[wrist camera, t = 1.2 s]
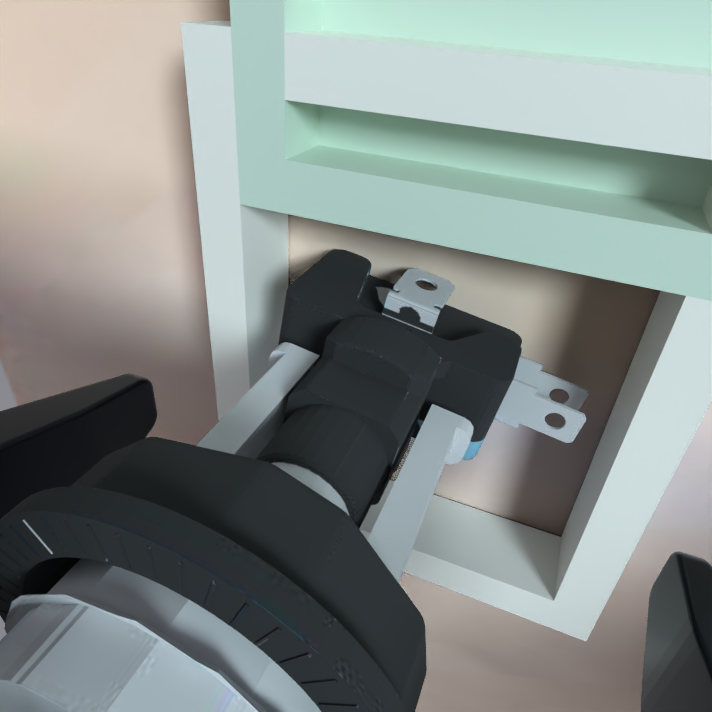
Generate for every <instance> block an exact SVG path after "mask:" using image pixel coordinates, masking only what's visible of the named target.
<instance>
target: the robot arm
mask: <svg viewBox="0 0 712 712" xmlns="http://www.w3.org/2000/svg"><path fill="white" fill-rule="evenodd" d="M156 418H157V410H156V404H155V398H154V392H153V386H152V383H151V382H150V381H149V380H148V379H146V378H143V377H140V376H137V375H134V374H125V375H122V376H119V377H115V378H112V379H108V380H105V381H102V382H98V383H95V384H92V385H88V386H85V387H81V388H78V389H75V390H71V391H68V392H64V393H61V394H58V395H54V396H51V397H47V398H44V399H41V400H37V401H34V402H30V403H27V404H24V405H20V406H17V407H14V408H10V409H7V410H3V411H0V519H1V518H2V517H3V516H5V515H6V514H7V513H8V512H10V511H11V510H12V509H13V508H14V507H16V506H17V505H18V504H19V503H20V502H22V501H23V500H25V499H26V498H28V497H29V496H30V495H32V494H35V493H37V492H40V491H42V490H46V489H51V488H56V487H70V486H71V485H73V484H74V483H75V482H76V481H77V480H78V479H79V478H81V477H82V476H83V475H84V474H85V473H86V472H88V471H89V470H90V469H91V468H92V467H93V466H94V465H96V464H97V463H98V462H99V461H100V460H101V459H103V458H104V457H105V456H107V455H108V454H110V453H113V452H115V451H117V450H119V449H122V448H124V447H126V446H128V445H131V444H133V443H135V442H137V441H139V440H142V439H144V438H145V437H146V436H147V434H148V433H149V432H150V430H151V429H152V427H153V426H154V424H155V421H156ZM641 712H712V566H711V565H710V564H709V563H708V562H707V561H705V560H704V559H701V558H698V557H695V556H692V555H689V554H686V553H683V552H674V553H673V554H672V555H671V556H670V557H669V559H668V560H667V562H666V564H665V566H664V567H663V569H662V571H661V573H660V574H659V576H658V578H657V579H656V581H655V583H654V585H653V587H652V590H651V593H650V598H649V608H648V620H647V632H646V645H645V657H644V669H643V681H642V696H641Z"/></svg>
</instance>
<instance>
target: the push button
mask: <svg viewBox="0 0 712 712" xmlns="http://www.w3.org/2000/svg"><path fill="white" fill-rule="evenodd" d="M370 269H371V263H370V261H369V260H368V259H366V258H364V257H362V256H359V255H357V254H354V253H351V252H349V251H346V250H333V251H331V252H329V253H328V254H327V255H326V256H325V257H323V258H322V259H321V260H320V261H319V262H317V263H316V264H315V265H314V266H313V267H311V268H310V269H309V270H308V271H307V272H306V273H304V274H303V275H302V276H301V277H300V278H298V279H297V280H296V281H295V282H294V283H292V284H291V285H290V286H289V287H288V288H287V292H286V298H285V305H284V311H283V318H282V324H281V330H280V337H279V343H278V347H277V348H276V349H275V350H274V351H273V352H272V353H271V355H270V357H269V363H268V370H267V373H266V374H265V375H264V376H263V377H262V378H261V379H260V380H259V381H258V382H257V383H256V384H255V385H254V386H253V387H252V388H251V389H250V390H249V391H248V392H247V393H246V394H245V395H244V396H243V397H242V398H241V400H240V401H239V402H238V403H237V404H236V405H235V406H234V407H233V408H232V409H231V410H230V411H229V412H228V413H227V414H226V415H225V416H224V417H223V418H222V419H221V420H220V421H219V422H218V423H217V424H216V425H215V426H214V427H213V428H212V429H211V430H210V431H209V432H208V433H207V434H206V435H205V437H204V438H203V439H202V440H201V441H200V442H199V443H198V444H197V445H196V446H194V445H190V444H185V443H181V442H176V441H172V440H167V439H163V438H158V437H149V438H144V439H142V440H139V441H137V442H135V443H133V444H131V445H128V446H126V447H124V448H122V449H119V450H117V451H115V452H113V453H110V454H108V455H107V456H105V457H104V458H103V459H101V460H100V461H99V462H98V463H97V464H96V465H94V466H93V467H92V468H91V469H90V470H89V471H88V472H86V473H85V474H84V475H83V476H82V477H81V478H79V479H78V480H77V481H76V482H75V483H74V484H73V485H71V486H70V487H56V488H51V489H46V490H42V491H40V492H37V493H35V494H32V495H30V496H29V497H28V498H26V499H25V500H23V501H22V502H20V503H19V504H18V505H17V506H16V507H14V508H13V509H12V510H11V511H10V512H8V513H7V514H6V515H5V516H3V517H2V518H1V519H0V616H1V617H2V619H3V620H4V622H5V630H6V633H7V635H6V636H5V637H4V638H3V639H2V640H1V641H0V712H415V709H416V706H417V703H418V699H419V696H420V692H421V689H422V685H423V682H424V679H425V675H426V641H425V624H424V620H423V617H422V615H421V614H420V612H419V611H418V609H417V608H416V606H415V605H414V604H413V602H412V601H411V600H410V598H409V597H408V595H407V594H406V593H405V591H404V590H403V589H402V587H401V586H400V584H399V582H400V579H401V576H402V574H403V571H404V569H405V566H406V563H407V561H408V558H409V556H410V553H411V550H412V548H413V545H414V543H415V540H416V537H417V535H418V532H419V530H420V527H421V525H422V522H423V519H424V517H425V514H426V512H427V509H428V506H429V504H430V501H431V499H432V496H433V493H434V491H435V488H436V486H437V483H438V481H439V478H440V475H441V473H442V470H443V468H444V465H445V463H446V464H451V465H453V464H458V463H459V462H460V461H461V460H470V459H473V458H474V457H475V456H476V454H477V452H478V450H479V448H480V446H481V444H482V442H483V440H484V438H485V436H486V434H487V432H488V430H489V428H490V426H491V424H492V422H493V420H494V419H496V420H498V421H501V422H503V423H505V424H508V425H510V426H512V427H515V428H518V426H519V424H522V425H525V426H527V427H529V428H532V429H534V430H537V431H539V432H541V433H544V434H546V435H548V436H551V437H553V438H556V439H558V440H560V441H563V442H565V443H570V442H573V440H574V439H575V437H576V436H577V434H578V432H579V431H580V429H581V428H582V426H583V424H584V423H585V421H586V417H585V414H584V413H582V412H579V409H580V408H581V406H582V405H583V403H584V401H585V400H586V398H587V396H588V391H587V389H586V388H583V387H581V386H578V385H576V384H573V383H571V382H568V381H566V380H563V379H561V378H558V377H556V376H553V375H551V374H548V373H546V372H543V371H541V369H542V367H543V365H542V364H540V363H537V362H535V361H532V360H530V359H527V358H525V357H522V356H520V355H521V350H522V349H521V347H520V346H521V343H522V340H521V338H520V336H519V335H518V334H516V333H515V332H514V331H511V330H509V329H507V328H504V327H502V326H499V325H497V324H494V323H491V322H489V321H486V320H484V319H481V318H479V317H476V316H474V315H471V314H468V313H466V312H463V311H461V310H458V309H456V308H453V307H450V306H448V305H445V303H446V302H447V300H448V298H449V297H450V295H451V293H452V292H453V290H454V285H453V284H452V283H451V282H450V281H448V280H445V279H443V278H440V277H438V276H435V275H432V274H430V273H427V272H424V271H422V270H419V269H408V270H407V271H406V272H405V273H404V274H403V276H402V277H401V278H400V279H399V281H398V282H397V283H396V284H395V285H394V284H392V283H389V282H386V281H384V280H381V279H379V278H376V277H374V276H371V275H369V273H370ZM419 281H423V282H427V283H430V284H432V285H433V286H435V287H436V290H434V291H429V290H425V289H422V288H420V287H418V286H417V285H416V282H419ZM558 388H559V389H563V390H565V391H566V392H567V393H568V395H569V398H568V400H567V401H565V402H562V403H558V402H555V401H553V400H551V398H550V396H549V393H550V391H552V390H553V389H558ZM550 413H558V414H560V415H562V416H563V417H564V418H565V420H566V422H565V424H564V425H563V426H561V427H551V426H550V425H548V424H547V423H546V421H545V417H546V415H548V414H550ZM411 437H413V438H416V439H415V441H414V443H413V445H412V447H411V450H410V452H409V454H408V456H407V458H406V460H405V462H404V464H403V466H402V468H401V470H400V473H399V475H398V477H397V479H396V481H395V483H394V485H393V487H392V489H391V491H390V494H389V496H388V498H387V500H386V502H385V504H384V506H383V508H382V510H381V512H380V514H379V517H378V519H377V521H376V523H375V525H374V527H373V529H372V531H371V533H370V535H369V538H368V540H367V539H366V538H365V536H364V535H363V534H362V532H361V531H360V530H359V529H360V527H361V525H362V523H363V521H364V519H365V517H366V515H367V513H368V511H369V509H370V507H371V505H376V504H378V503H379V501H380V499H381V497H382V495H383V493H384V491H385V489H386V487H387V485H388V483H389V481H390V479H391V477H392V474H393V472H395V471H396V470H397V468H398V466H399V464H400V462H401V460H402V458H403V456H404V454H405V452H406V450H407V447H408V445H409V442H410V440H411Z"/></svg>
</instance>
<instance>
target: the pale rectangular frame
mask: <svg viewBox="0 0 712 712" xmlns="http://www.w3.org/2000/svg"><path fill="white" fill-rule="evenodd" d="M181 33H182V44H183V54H184V65H185V75H186V86H187V96H188V107H189V117H190V128H191V139H192V149H193V160H194V170H195V181H196V191H197V202H198V212H199V223H200V234H201V244H202V255H203V265H204V276H205V286H206V297H207V307H208V318H209V329H210V339H211V350H212V360H213V371H214V381H215V392H216V402H217V413H218V422H219V421H220V420H221V419H222V418H223V417H224V416H225V415H226V414H227V413H228V412H229V411H230V410H231V409H232V408H233V407H234V406H235V405H236V404H237V403H238V402H239V401H240V400H241V398H242V397H243V396H244V395H245V394H246V393H247V392H248V391H249V390H250V389H251V388H252V387H253V386H254V385H255V384H256V383H257V382H258V381H259V380H260V379H261V378H262V377H263V376H264V375H265V374H266V373H267V370H268V363H269V357H270V355H271V353H272V352H273V351H274V350H275V349H276V348H277V347H278V343H279V337H280V330H281V324H282V318H283V311H284V305H285V298H286V292H287V288H288V287H289V282H288V214H285V213H280V212H275V211H270V210H265V209H260V208H255V207H250V206H246V205H241V204H240V193H239V174H238V155H237V136H236V117H235V98H234V79H233V60H232V41H231V22H230V20H228V21H194V22H181ZM284 67H285V100H289V101H296V102H303V103H311V104H318V105H325V106H332V107H339V108H346V109H353V110H360V111H367V112H375V113H382V114H389V115H396V116H403V117H410V118H417V119H424V120H431V121H439V122H446V123H453V124H460V125H467V126H474V127H481V128H488V129H495V130H503V131H510V132H517V133H524V134H531V135H538V136H545V137H552V138H559V139H567V140H574V141H581V142H588V143H595V144H602V145H609V146H616V147H623V148H630V149H638V150H645V151H652V152H659V153H666V154H673V155H680V156H687V157H694V158H702V159H709V160H712V69H710V68H700V67H690V66H680V65H670V64H660V63H650V62H639V61H629V60H619V59H609V58H599V57H589V56H579V55H569V54H559V53H549V52H539V51H528V50H518V49H508V48H498V47H488V46H478V45H468V44H458V43H448V42H438V41H427V40H417V39H407V38H397V37H387V36H377V35H367V34H357V33H347V32H337V31H326V30H313V31H299V32H285V33H284ZM702 209H703V212H704V214H705V217H706V219H707V222H708V224H709V226H710V229H711V231H712V184H711V186H710V189H709V191H708V194H707V196H706V199H705V201H704V203H703V206H702ZM711 401H712V301H709V300H704V299H699V298H694V297H689V296H684V295H679V294H675V293H670V292H665V291H660V293H659V296H658V298H657V301H656V303H655V306H654V308H653V310H652V313H651V315H650V318H649V320H648V323H647V325H646V328H645V330H644V333H643V335H642V338H641V340H640V343H639V345H638V348H637V350H636V353H635V355H634V358H633V360H632V363H631V365H630V368H629V370H628V373H627V375H626V378H625V380H624V382H623V385H622V387H621V390H620V392H619V395H618V397H617V400H616V402H615V405H614V407H613V410H612V412H611V415H610V417H609V420H608V422H607V425H606V427H605V430H604V432H603V435H602V437H601V440H600V442H599V445H598V447H597V450H596V452H595V454H594V457H593V459H592V462H591V464H590V467H589V469H588V472H587V474H586V477H585V479H584V482H583V484H582V487H581V489H580V492H579V494H578V497H577V499H576V502H575V504H574V507H573V509H572V512H571V514H570V517H569V519H568V521H567V524H566V526H565V529H564V531H563V534H562V536H561V537H559V536H556V535H553V534H550V533H547V532H544V531H541V530H538V529H535V528H532V527H529V526H526V525H523V524H520V523H517V522H514V521H511V520H508V519H505V518H502V517H499V516H496V515H493V514H490V513H487V512H484V511H481V510H478V509H475V508H472V507H469V506H466V505H463V504H460V503H458V502H455V501H452V500H449V499H446V498H443V497H440V496H437V495H434V494H433V496H432V499H431V501H430V504H429V506H428V509H427V512H426V514H425V517H424V519H423V522H422V525H421V527H420V530H419V532H418V535H417V537H416V540H415V543H414V545H413V548H412V550H411V553H410V556H409V558H408V561H407V563H406V566H405V569H404V571H403V572H405V573H408V574H410V575H413V576H416V577H418V578H421V579H424V580H426V581H429V582H431V583H434V584H437V585H439V586H442V587H444V588H447V589H450V590H452V591H455V592H458V593H460V594H463V595H465V596H468V597H471V598H473V599H476V600H478V601H481V602H484V603H486V604H489V605H492V606H494V607H497V608H499V609H502V610H505V611H507V612H510V613H512V614H515V615H518V616H520V617H523V618H526V619H528V620H531V621H533V622H536V623H539V624H541V625H544V626H546V627H549V628H552V629H554V630H557V631H560V632H562V633H565V634H567V635H570V636H573V637H575V638H578V639H580V640H583V641H587V639H588V637H589V635H590V633H591V631H592V629H593V627H594V626H595V624H596V622H597V620H598V618H599V616H600V614H601V612H602V610H603V608H604V606H605V604H606V603H607V601H608V599H609V597H610V595H611V593H612V591H613V589H614V587H615V585H616V583H617V581H618V580H619V578H620V576H621V574H622V572H623V570H624V568H625V566H626V564H627V562H628V560H629V558H630V557H631V555H632V553H633V551H634V549H635V547H636V545H637V543H638V541H639V539H640V537H641V535H642V534H643V532H644V530H645V528H646V526H647V524H648V522H649V520H650V518H651V516H652V514H653V512H654V511H655V509H656V507H657V505H658V503H659V501H660V499H661V497H662V495H663V493H664V491H665V490H666V488H667V486H668V484H669V482H670V480H671V478H672V476H673V474H674V472H675V470H676V468H677V467H678V465H679V463H680V461H681V459H682V457H683V455H684V453H685V451H686V449H687V447H688V445H689V444H690V442H691V440H692V438H693V436H694V434H695V432H696V430H697V428H698V426H699V424H700V422H701V421H702V419H703V417H704V415H705V413H706V411H707V409H708V407H709V405H710V403H711ZM394 483H395V481H392V480H390V481H389V483H388V485H387V487H386V489H385V491H384V493H383V495H382V497H381V499H380V501H379V503H378V504H376V505H371V507H370V509H369V511H368V513H367V515H366V517H365V519H364V521H363V523H362V525H361V527H360V529H359V530H360V531H361V532H362V534H363V535H364V536H365V538H366V539H367V540H368V538H369V535H370V533H371V531H372V529H373V527H374V525H375V523H376V521H377V519H378V517H379V514H380V512H381V510H382V508H383V506H384V504H385V502H386V500H387V498H388V496H389V494H390V491H391V489H392V487H393V485H394Z"/></svg>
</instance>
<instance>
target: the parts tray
mask: <svg viewBox="0 0 712 712" xmlns="http://www.w3.org/2000/svg"><path fill="white" fill-rule="evenodd" d="M229 3H230V22H231V41H232V60H233V79H234V98H235V117H236V136H237V155H238V174H239V193H240V204H241V205H246V206H250V207H255V208H260V209H265V210H270V211H275V212H280V213H285V214H289V215H294V216H299V217H304V218H309V219H314V220H319V221H324V222H328V223H333V224H338V225H343V226H348V227H353V228H358V229H363V230H367V231H372V232H377V233H382V234H387V235H392V236H397V237H402V238H406V239H411V240H416V241H421V242H426V243H431V244H436V245H441V246H445V247H450V248H455V249H460V250H465V251H470V252H475V253H480V254H484V255H489V256H494V257H499V258H504V259H509V260H514V261H519V262H523V263H528V264H533V265H538V266H543V267H548V268H553V269H558V270H562V271H567V272H572V273H577V274H582V275H587V276H592V277H597V278H601V279H606V280H611V281H616V282H621V283H626V284H631V285H636V286H640V287H645V288H650V289H655V290H660V291H665V292H670V293H675V294H679V295H684V296H689V297H694V298H699V299H704V300H709V301H712V231H711V229H710V226H709V224H708V222H707V219H706V217H705V214H704V212H703V209H702V206H703V203H704V201H705V199H706V196H707V194H708V191H709V189H710V186H711V184H712V160H709V159H702V158H694V157H687V156H680V155H673V154H666V153H659V152H652V151H645V150H638V149H630V148H623V147H616V146H609V145H602V144H595V143H588V142H581V141H574V140H567V139H559V138H552V137H545V136H538V135H531V134H524V133H517V132H510V131H503V130H495V129H488V128H481V127H474V126H467V125H460V124H453V123H446V122H439V121H431V120H424V119H417V118H410V117H403V116H396V115H389V114H382V113H375V112H367V111H360V110H353V109H346V108H339V107H332V106H325V105H318V104H311V103H303V102H296V101H289V100H285V67H284V33H285V32H299V31H313V30H326V31H337V32H347V33H357V34H367V35H377V36H387V37H397V38H407V39H417V40H427V41H438V42H448V43H458V44H468V45H478V46H488V47H498V48H508V49H518V50H528V51H539V52H549V53H559V54H569V55H579V56H589V57H599V58H609V59H619V60H629V61H639V62H650V63H660V64H670V65H680V66H690V67H700V68H710V69H712V0H229Z"/></svg>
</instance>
